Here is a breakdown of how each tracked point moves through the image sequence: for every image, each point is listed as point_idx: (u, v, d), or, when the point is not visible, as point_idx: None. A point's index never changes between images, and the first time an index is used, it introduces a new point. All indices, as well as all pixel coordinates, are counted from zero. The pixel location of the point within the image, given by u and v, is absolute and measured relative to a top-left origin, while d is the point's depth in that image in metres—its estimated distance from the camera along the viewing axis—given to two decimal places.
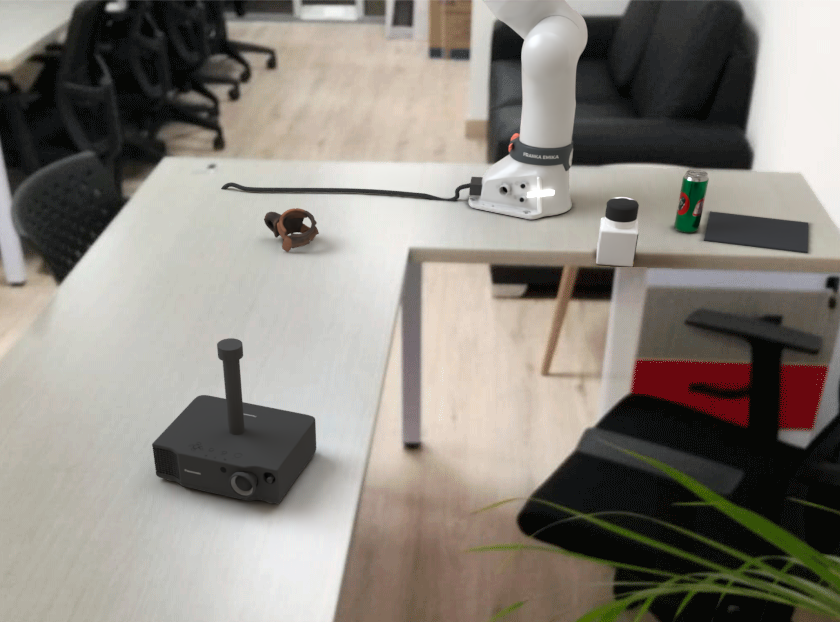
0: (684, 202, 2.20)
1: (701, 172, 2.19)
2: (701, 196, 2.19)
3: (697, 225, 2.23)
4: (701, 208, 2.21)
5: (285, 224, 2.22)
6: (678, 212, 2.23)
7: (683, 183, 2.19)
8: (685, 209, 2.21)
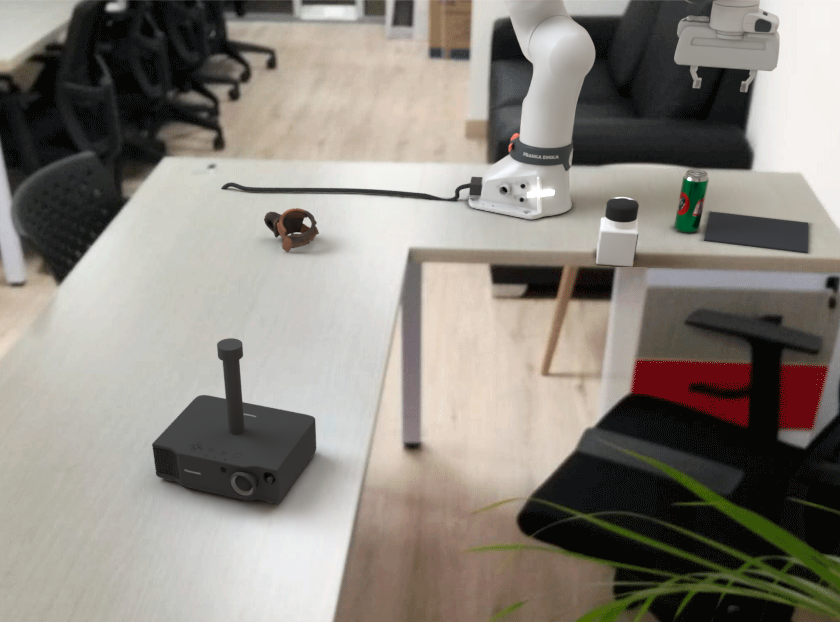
0: (684, 202, 2.20)
1: (701, 172, 2.19)
2: (701, 196, 2.19)
3: (697, 225, 2.23)
4: (701, 208, 2.21)
5: (285, 224, 2.22)
6: (678, 212, 2.23)
7: (683, 183, 2.19)
8: (685, 209, 2.21)
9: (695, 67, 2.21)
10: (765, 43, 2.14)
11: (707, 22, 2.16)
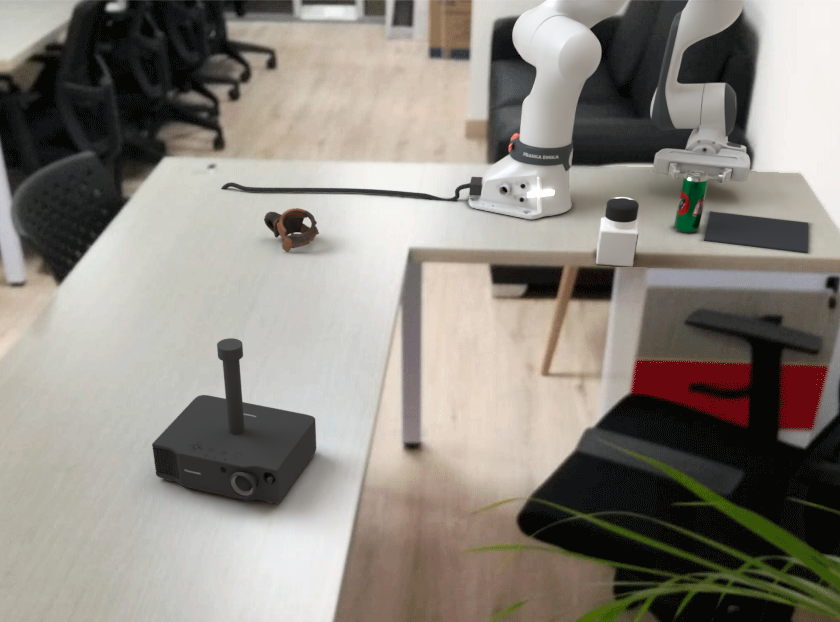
0: (684, 202, 2.20)
1: (701, 172, 2.19)
2: (701, 196, 2.19)
3: (697, 225, 2.23)
4: (701, 208, 2.21)
5: (285, 224, 2.22)
6: (678, 212, 2.23)
7: (683, 183, 2.19)
8: (685, 209, 2.21)
9: (674, 163, 2.35)
10: (736, 157, 2.35)
11: None
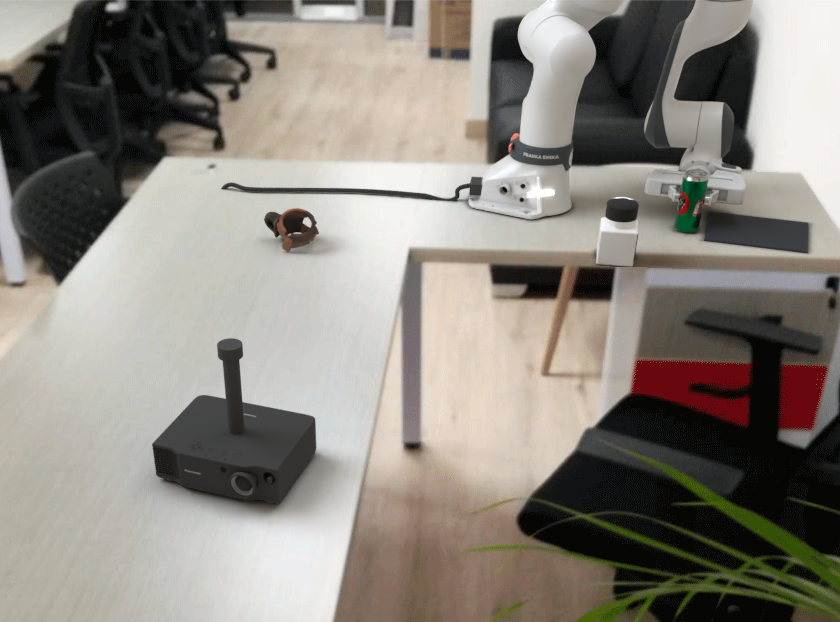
0: (684, 202, 2.20)
1: (701, 172, 2.19)
2: (701, 196, 2.19)
3: (697, 225, 2.23)
4: (701, 208, 2.21)
5: (285, 224, 2.22)
6: (678, 212, 2.23)
7: (683, 183, 2.19)
8: (685, 209, 2.21)
9: (674, 185, 2.25)
10: (731, 179, 2.26)
11: None
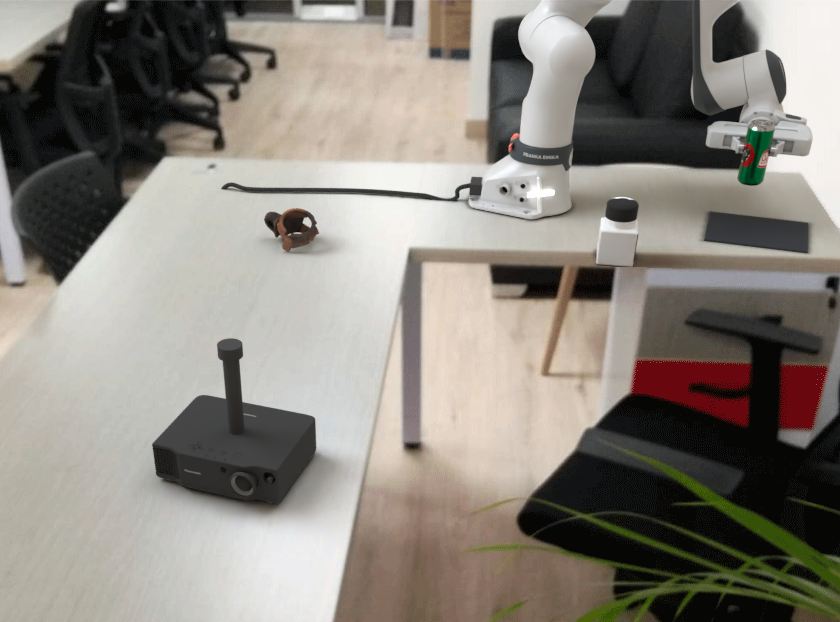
0: (749, 153, 2.13)
1: (767, 122, 2.12)
2: (767, 147, 2.12)
3: (762, 177, 2.16)
4: (766, 159, 2.14)
5: (285, 224, 2.22)
6: (742, 164, 2.16)
7: (748, 133, 2.12)
8: (749, 160, 2.14)
9: (737, 137, 2.17)
10: (796, 130, 2.18)
11: None
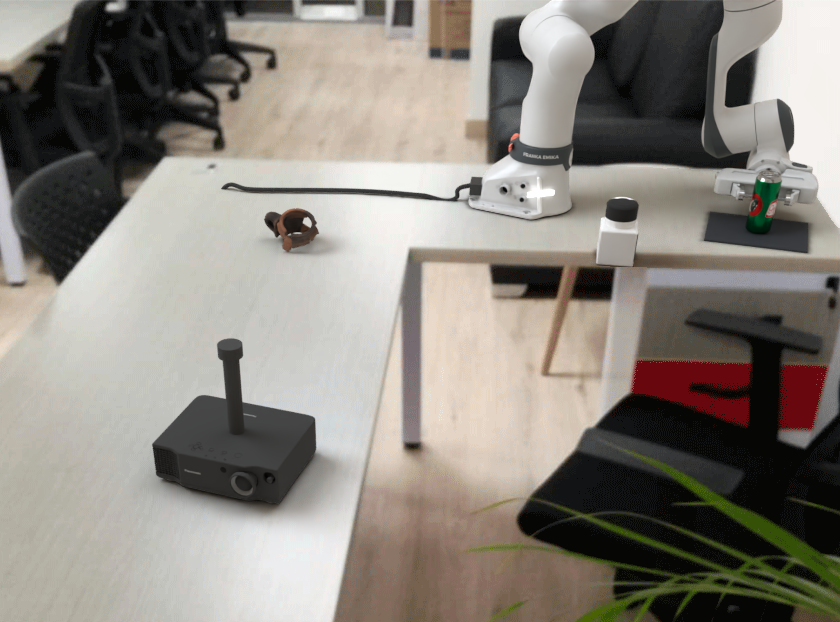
0: (757, 203, 2.19)
1: (774, 173, 2.17)
2: (775, 197, 2.17)
3: (769, 226, 2.21)
4: (774, 209, 2.19)
5: (285, 224, 2.22)
6: (750, 213, 2.21)
7: (756, 184, 2.18)
8: (757, 210, 2.19)
9: (738, 184, 2.23)
10: (802, 178, 2.24)
11: None
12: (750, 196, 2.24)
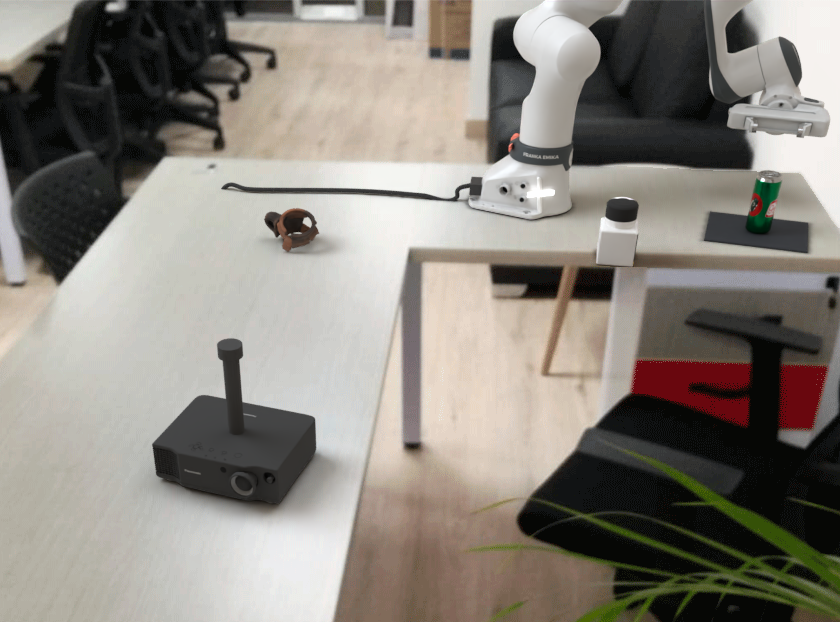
0: (757, 203, 2.19)
1: (774, 173, 2.17)
2: (775, 197, 2.17)
3: (769, 226, 2.21)
4: (774, 209, 2.19)
5: (285, 224, 2.22)
6: (750, 213, 2.21)
7: (756, 184, 2.18)
8: (757, 210, 2.19)
9: (751, 117, 2.27)
10: (814, 113, 2.28)
11: None
12: (763, 130, 2.28)
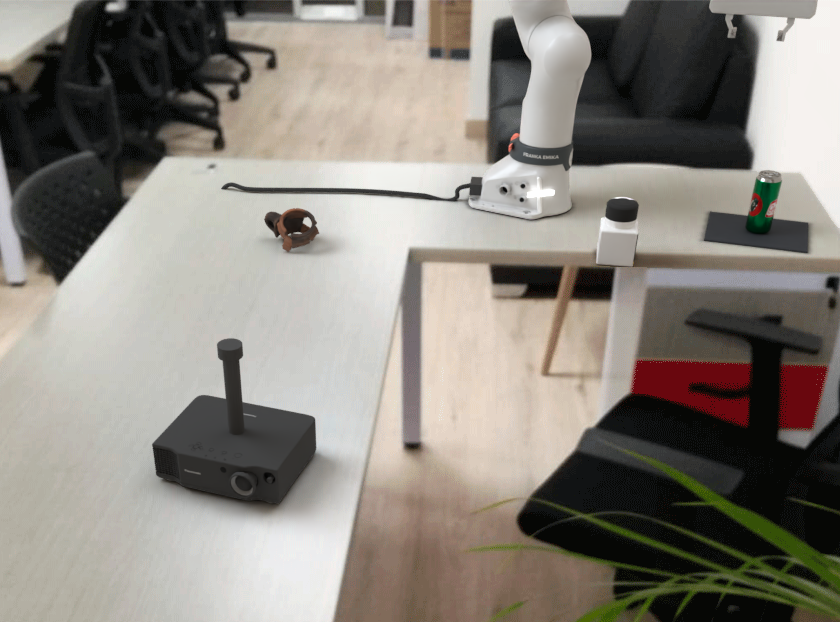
0: (757, 203, 2.19)
1: (774, 173, 2.17)
2: (775, 197, 2.17)
3: (769, 226, 2.21)
4: (774, 209, 2.19)
5: (285, 224, 2.22)
6: (750, 213, 2.21)
7: (756, 184, 2.18)
8: (757, 210, 2.19)
9: (731, 15, 2.16)
10: None
11: None
12: None
